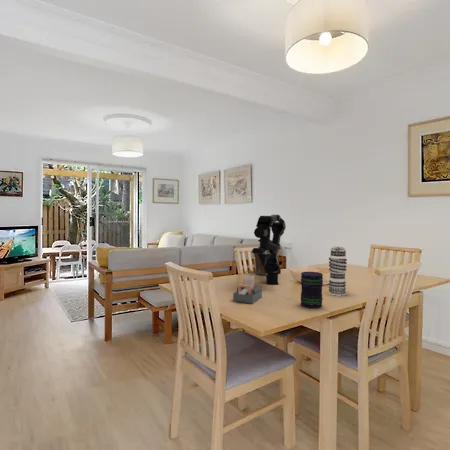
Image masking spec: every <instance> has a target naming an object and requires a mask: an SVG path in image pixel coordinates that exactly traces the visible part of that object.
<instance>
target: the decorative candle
mask: <svg viewBox="0 0 450 450" xmlns="http://www.w3.org/2000/svg"><path fill="white" fill-rule="evenodd" d="M329 250H330V255H329V258H328V266H329V269H328V270H329V274H330V275H329V280H328V282H329V283H328V285H329V286H328V295H330V294H331V295H330V296H333V295H338V296H337V297H342V296H341V295H345V296H346V292H347V291H346V290H347V288H346V286H347V285H346V283H347V282H346V273H347V264H348V262H347V261H348V259H347V256H346V255H347V253H346V252H347V250H346V248H345V247H343V246H333V247H331V248H330V249H329Z"/></svg>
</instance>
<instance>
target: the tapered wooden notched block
mask: <svg viewBox="0 0 450 450" xmlns="http://www.w3.org/2000/svg"><path fill="white" fill-rule="evenodd" d="M244 284H245V285H250V286H251V291H253V289H254V288H255V285H254V284H255V276H254V275H244ZM247 293H248V287H245V289H243V290H241V291H239V294H244V295H246V294H247Z"/></svg>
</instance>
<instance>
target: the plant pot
mask: <svg viewBox="0 0 450 450" xmlns="http://www.w3.org/2000/svg"><path fill="white" fill-rule="evenodd" d="M269 254H270V252H269ZM253 257H254V267H255V274H256V275H258V276H263V277H264V276H265V277H266V275H267V273H265V270H264V266H263V265H262V263H261V261H260V258H259V256H258V254H257V253H253Z"/></svg>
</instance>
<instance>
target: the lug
mask: <svg viewBox="0 0 450 450" xmlns="http://www.w3.org/2000/svg"><path fill="white" fill-rule="evenodd" d="M237 287H238V293H239V291H241V287H248V294H251V286H250V285H243V283H242V284H241V283H240V284H237Z"/></svg>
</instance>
